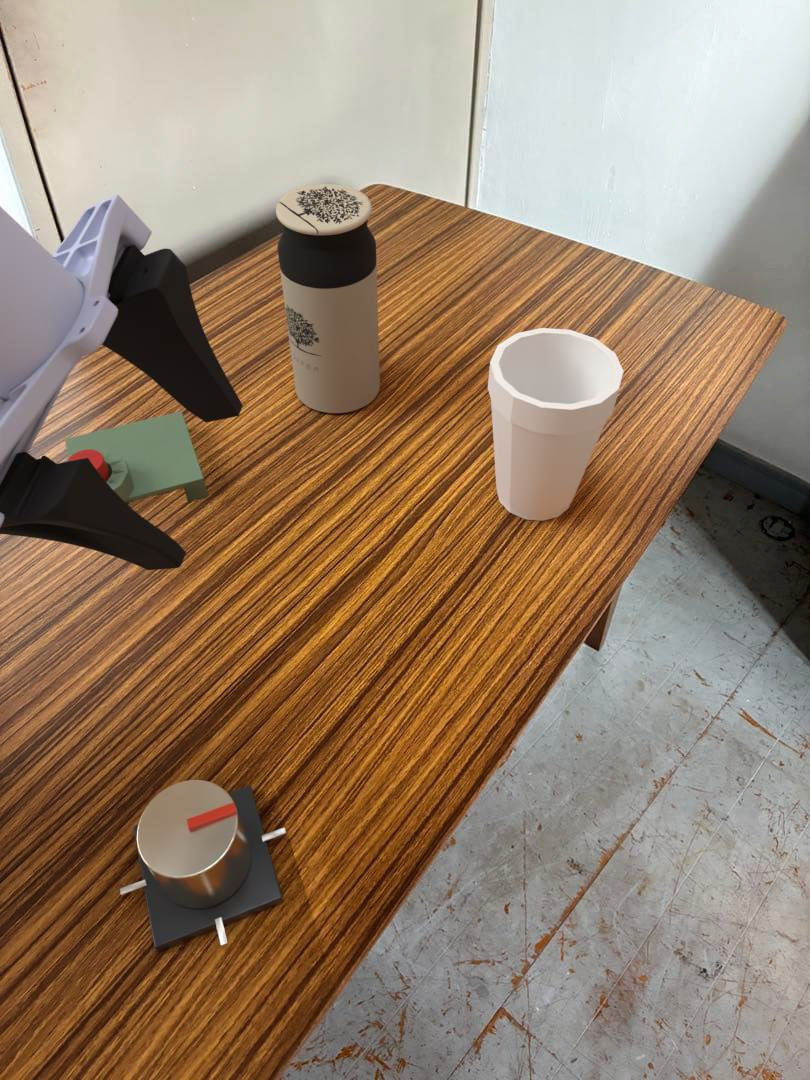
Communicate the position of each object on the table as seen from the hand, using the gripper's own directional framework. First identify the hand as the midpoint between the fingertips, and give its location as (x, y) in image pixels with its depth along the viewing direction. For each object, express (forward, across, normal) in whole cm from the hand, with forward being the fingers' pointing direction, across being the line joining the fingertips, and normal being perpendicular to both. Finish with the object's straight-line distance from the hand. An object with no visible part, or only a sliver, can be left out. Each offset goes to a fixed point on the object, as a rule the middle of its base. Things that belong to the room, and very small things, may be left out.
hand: (197, 483), depth 35 cm
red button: (+12, +12, +28) cm, 33 cm away
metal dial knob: (+17, -13, +9) cm, 23 cm away
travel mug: (+26, +30, +19) cm, 44 cm away
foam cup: (+33, +21, 0) cm, 39 cm away
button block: (+16, +16, +29) cm, 37 cm away
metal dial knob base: (+19, -14, +10) cm, 26 cm away
